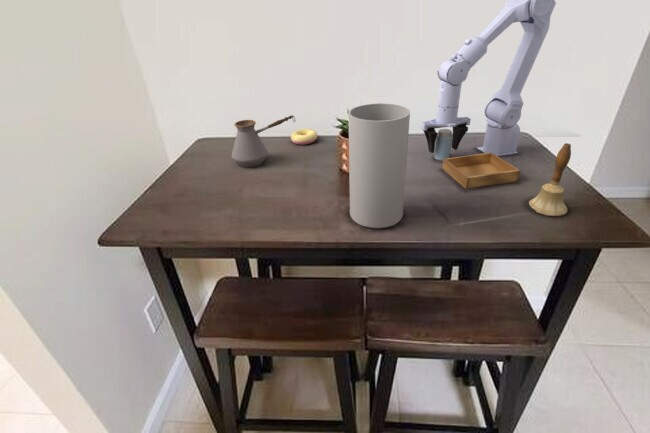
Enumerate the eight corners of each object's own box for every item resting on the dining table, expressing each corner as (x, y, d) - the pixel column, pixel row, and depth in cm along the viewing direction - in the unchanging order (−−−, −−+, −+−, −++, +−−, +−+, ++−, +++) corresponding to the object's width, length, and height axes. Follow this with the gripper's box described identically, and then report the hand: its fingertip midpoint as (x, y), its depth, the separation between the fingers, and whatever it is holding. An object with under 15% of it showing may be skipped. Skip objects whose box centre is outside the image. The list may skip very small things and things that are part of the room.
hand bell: (563, 201, 93) (584, 138, 85) (570, 218, 86) (592, 152, 78) (526, 197, 95) (542, 136, 87) (529, 214, 89) (547, 149, 80)
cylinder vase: (389, 235, 84) (395, 124, 71) (340, 221, 90) (337, 116, 77) (410, 209, 93) (419, 107, 80) (364, 198, 99) (365, 101, 86)
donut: (289, 149, 136) (312, 148, 132) (285, 138, 133) (309, 136, 129) (299, 136, 143) (322, 134, 139) (295, 125, 140) (319, 123, 136)
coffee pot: (228, 169, 118) (219, 122, 111) (239, 155, 128) (231, 110, 120) (296, 169, 116) (291, 121, 108) (301, 155, 126) (298, 109, 118)
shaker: (444, 155, 120) (448, 127, 115) (451, 160, 116) (455, 132, 112) (431, 157, 119) (434, 129, 115) (438, 162, 116) (441, 134, 111)
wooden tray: (489, 163, 113) (491, 152, 112) (517, 182, 102) (520, 170, 100) (442, 170, 111) (443, 158, 109) (465, 190, 100) (467, 178, 98)
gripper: (430, 111, 105) (426, 158, 112) (479, 106, 107) (471, 151, 114) (420, 105, 111) (416, 149, 118) (465, 100, 113) (459, 143, 120)
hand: (442, 150), depth 116 cm, fingers open, 7 cm apart
